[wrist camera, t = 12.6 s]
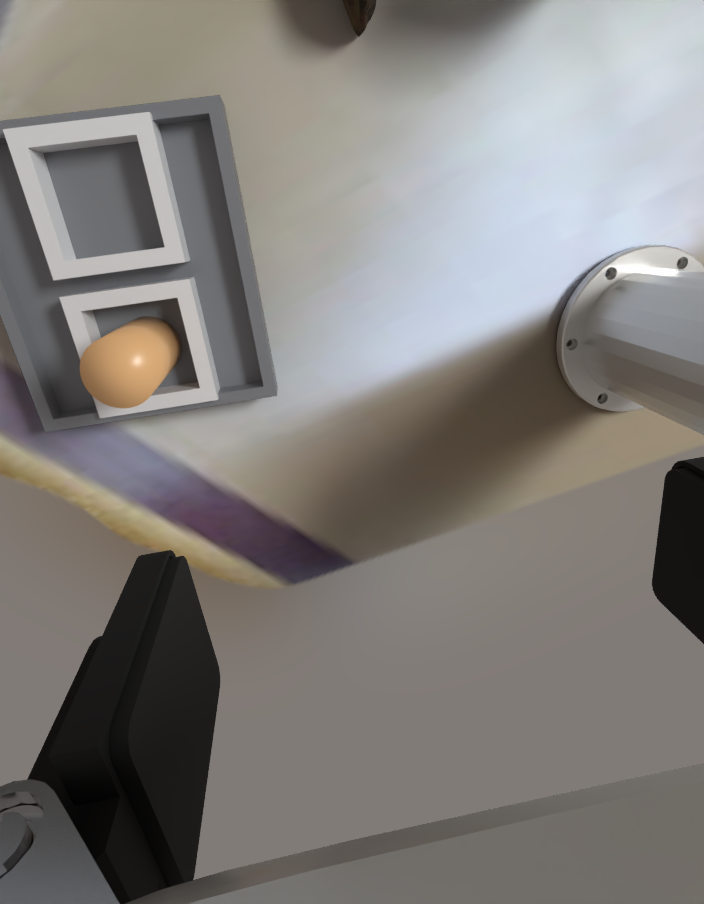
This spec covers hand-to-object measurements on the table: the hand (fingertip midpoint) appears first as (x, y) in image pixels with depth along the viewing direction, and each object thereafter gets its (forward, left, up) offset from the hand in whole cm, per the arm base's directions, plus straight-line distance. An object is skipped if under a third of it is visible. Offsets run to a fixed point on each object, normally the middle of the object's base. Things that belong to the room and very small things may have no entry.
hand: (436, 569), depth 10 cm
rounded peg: (+12, 0, -29) cm, 32 cm away
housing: (+12, -5, -30) cm, 33 cm away
